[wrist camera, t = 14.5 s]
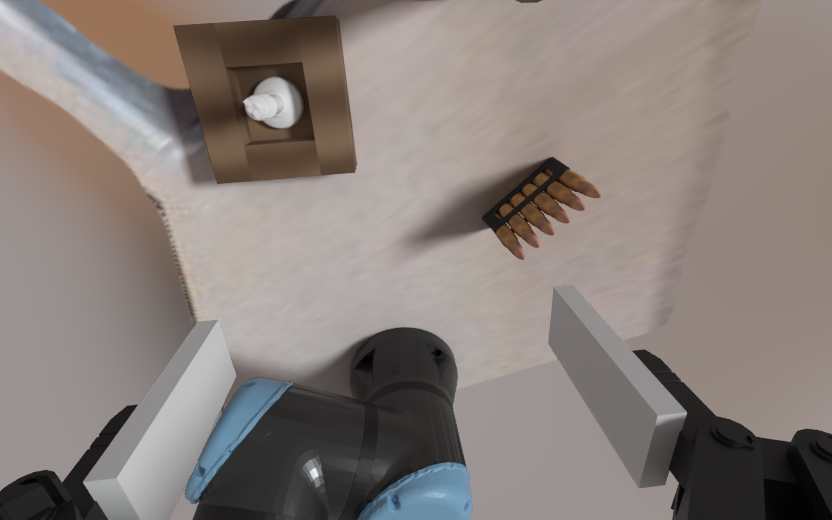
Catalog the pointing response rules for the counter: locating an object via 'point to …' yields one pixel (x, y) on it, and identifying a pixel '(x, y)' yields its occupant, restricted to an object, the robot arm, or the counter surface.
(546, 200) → the ammunition clip
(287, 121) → the chess piece
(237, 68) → the socket block
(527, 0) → the pancake mix bag
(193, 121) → the counter surface
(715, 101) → the counter surface
